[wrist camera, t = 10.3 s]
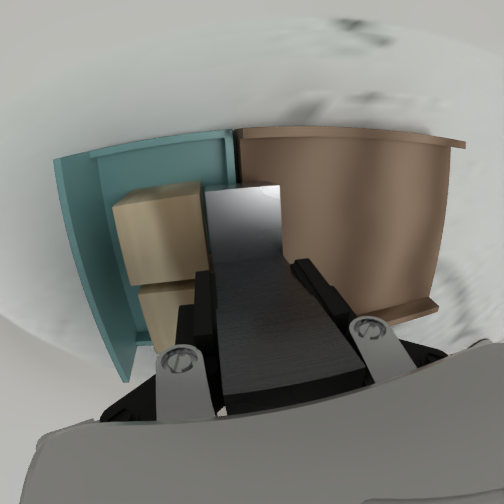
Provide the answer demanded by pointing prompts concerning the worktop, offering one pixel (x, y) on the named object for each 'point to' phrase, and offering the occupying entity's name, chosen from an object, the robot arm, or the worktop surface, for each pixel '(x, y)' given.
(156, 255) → the oak block
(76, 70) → the worktop surface
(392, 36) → the worktop surface
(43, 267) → the worktop surface
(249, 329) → the grey stepped block
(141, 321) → the teal tray
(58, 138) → the worktop surface
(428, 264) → the walnut channel
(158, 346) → the oak block
